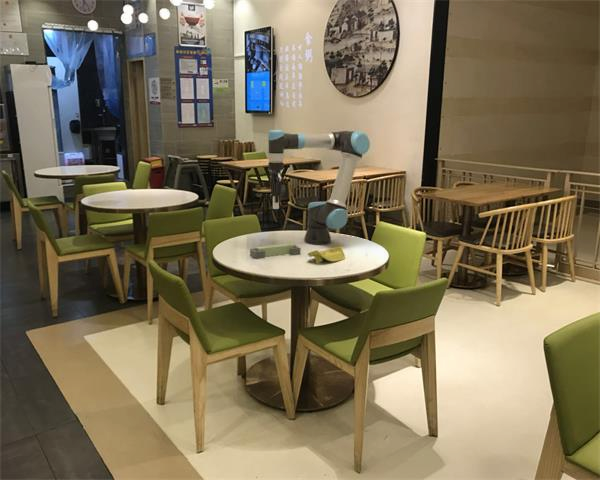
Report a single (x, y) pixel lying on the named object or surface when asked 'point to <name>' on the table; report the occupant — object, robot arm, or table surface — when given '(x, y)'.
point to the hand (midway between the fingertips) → (275, 208)
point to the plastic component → (328, 254)
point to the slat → (276, 249)
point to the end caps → (261, 254)
